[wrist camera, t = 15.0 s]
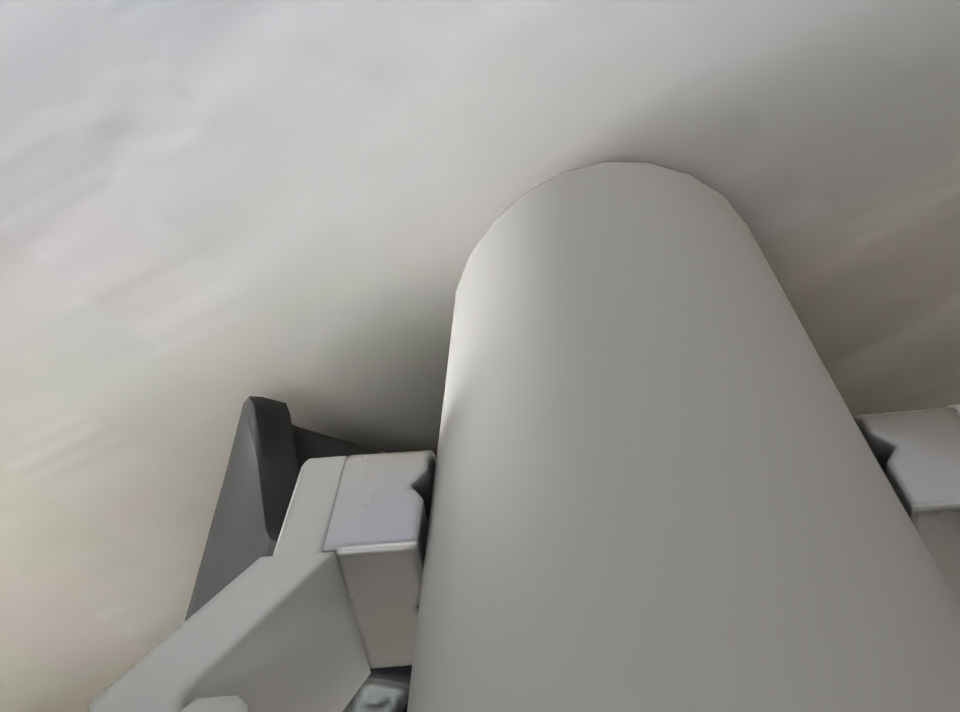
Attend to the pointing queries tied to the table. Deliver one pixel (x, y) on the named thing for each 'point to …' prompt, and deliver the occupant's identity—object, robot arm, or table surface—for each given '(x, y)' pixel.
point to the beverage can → (659, 481)
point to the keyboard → (276, 520)
